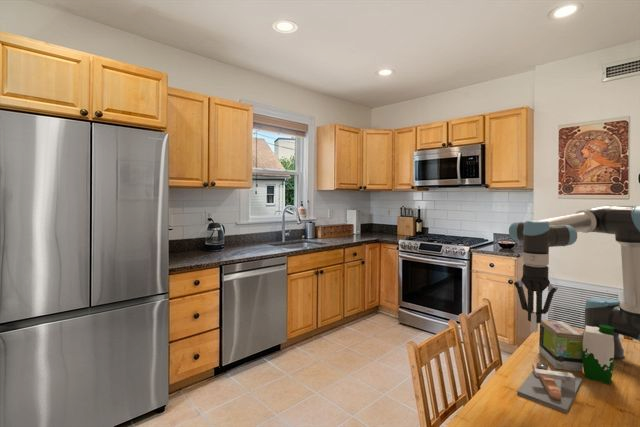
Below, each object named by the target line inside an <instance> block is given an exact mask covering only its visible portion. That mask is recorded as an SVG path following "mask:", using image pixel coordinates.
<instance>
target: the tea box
mask: <svg viewBox="0 0 640 427" xmlns="http://www.w3.org/2000/svg"><path fill="white" fill-rule="evenodd" d="M583 337H584V335H583V332H581V331H579V330H577V329H576V328H574V327H573V326H572V325H570V324H569V323H567V322H566V321H562V320H561V321H559V320H549V319H548V320H546V319H541V323H539V337H538V338H539V344H538V352H539V354H541V355H542V357H544V359H545V360H546V361H548V363H550V364H551V366H553V368H554V369H555V370H556V369H557V370H563V371H564V370H565V371H567V370H568V371H575V372H577V371H578V372H583V371H584V369H583V363H582V349H583Z"/></svg>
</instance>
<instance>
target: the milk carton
mask: <svg viewBox="0 0 640 427" xmlns="http://www.w3.org/2000/svg"><path fill="white" fill-rule="evenodd" d="M584 327H585V326H584ZM583 332H584V331H583ZM582 363H583V373H584V378H585V379H586V380H591V381H595V382H599V383H602V384H606V385H609V386H610V385H611V381H612V377H613V374H614V367H615V366H614V363H615V359H614V328H613V327H611V326H608V325H600V326H599V328H598V327H591V326H586V327H585V332H584V337H583V349H582Z"/></svg>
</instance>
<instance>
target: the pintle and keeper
mask: <svg viewBox="0 0 640 427" xmlns="http://www.w3.org/2000/svg"><path fill="white" fill-rule="evenodd" d="M535 364H536V366H537V367H538V368H540V369H534V373H535V375H536V376H537V377H544V378H551V379H559V380H561V387H562V388H563V390H564V391H567V392H575V377H574V376H575V375H574V374H573V373H572V372H565V371H560V372H558V371H559V370H556V371H550V370H544V369H548V366H549V365H548V364H546V363H544V362H536V363H535ZM542 369H543V370H542Z"/></svg>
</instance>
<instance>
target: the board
mask: <svg viewBox="0 0 640 427" xmlns="http://www.w3.org/2000/svg"><path fill="white" fill-rule="evenodd" d="M550 370H551V371H558V372H561V371H560V370H556V369H553V368H550ZM574 377H575V392H567V391H564V390H563V388H562V387H561V380H559V379H553V380H554V381H555V383H556V385H557V386H558V388H559V390H560V391H561V400H556V399H553V398H551V397H550V395H549V393H548V391H547V389H546V388H545V386H544V384H543V382H542V380H541V378H540V377H537V376H536V375H535V373H534V371H533V370H532V371H531V372H530V373H529V375H528V377H526V379H525V380H524V382H523V383H522V384H521V386H519V388H518V390H517V391H516V394H517V395H518V396H521V397H523V398H526V399H528V400H531V401H533V402H536V403H539V404H540V405H541V404H542V405H544V406H546V407H548V408H552V409H555V410H557V411H560V412H562V413H565V414H568V413H569V410H570V409H571V406H572V404H573V402H574V400H575V398H576V395H577V393H578V391H579V389H580V387H581V385H582V383H583V377H582V378H581V377H578V376H575V375H574Z"/></svg>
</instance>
